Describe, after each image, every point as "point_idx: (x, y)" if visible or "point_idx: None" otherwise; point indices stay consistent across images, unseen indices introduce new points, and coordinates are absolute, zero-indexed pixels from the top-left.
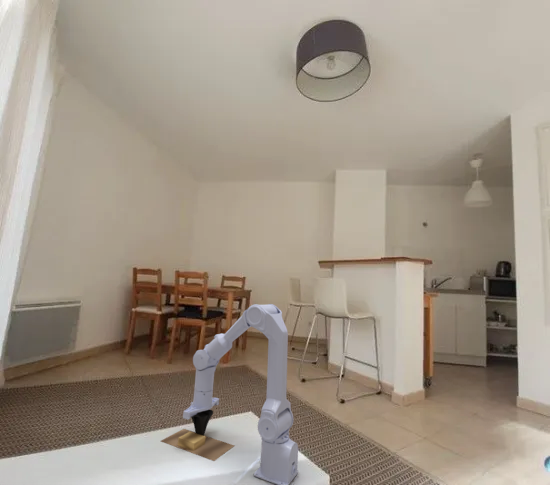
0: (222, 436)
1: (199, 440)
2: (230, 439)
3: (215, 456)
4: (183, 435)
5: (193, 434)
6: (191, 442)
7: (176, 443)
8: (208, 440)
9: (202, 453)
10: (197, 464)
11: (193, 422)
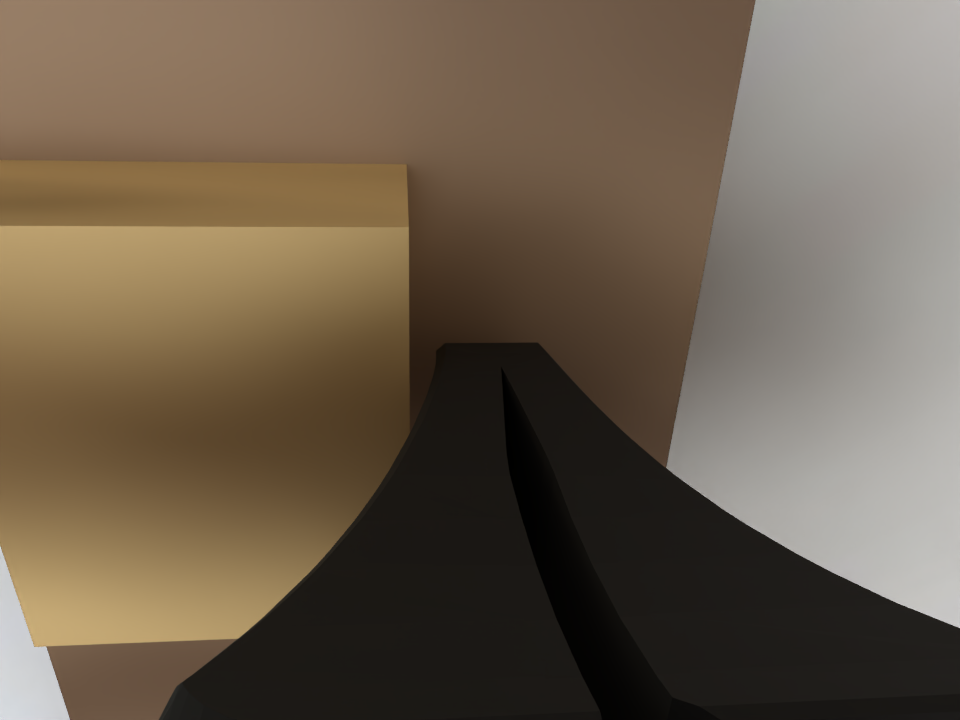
0: (933, 440)
1: (210, 633)
2: (871, 572)
3: None
4: (100, 243)
5: (319, 409)
6: (19, 587)
7: (2, 76)
8: None
9: (137, 666)
10: (19, 628)
11: (352, 534)
